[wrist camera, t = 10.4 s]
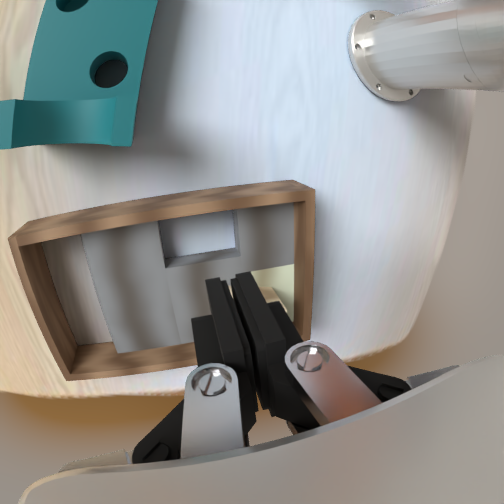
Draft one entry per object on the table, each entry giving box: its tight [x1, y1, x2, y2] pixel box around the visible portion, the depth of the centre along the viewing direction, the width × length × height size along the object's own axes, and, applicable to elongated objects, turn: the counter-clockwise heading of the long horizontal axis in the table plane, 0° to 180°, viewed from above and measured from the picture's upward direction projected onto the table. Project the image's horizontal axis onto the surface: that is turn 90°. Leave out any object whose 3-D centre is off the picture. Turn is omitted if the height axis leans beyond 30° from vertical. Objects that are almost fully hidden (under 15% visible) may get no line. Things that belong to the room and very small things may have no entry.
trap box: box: [8, 180, 315, 381], centre depth 32 cm, size 30×18×6 cm, turn 94°
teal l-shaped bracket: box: [0, 0, 158, 149], centre depth 19 cm, size 18×11×10 cm, turn 172°
